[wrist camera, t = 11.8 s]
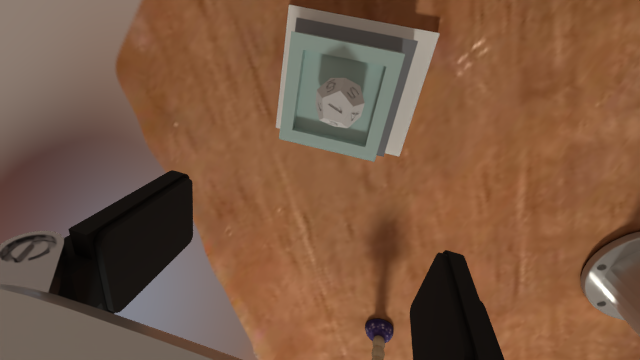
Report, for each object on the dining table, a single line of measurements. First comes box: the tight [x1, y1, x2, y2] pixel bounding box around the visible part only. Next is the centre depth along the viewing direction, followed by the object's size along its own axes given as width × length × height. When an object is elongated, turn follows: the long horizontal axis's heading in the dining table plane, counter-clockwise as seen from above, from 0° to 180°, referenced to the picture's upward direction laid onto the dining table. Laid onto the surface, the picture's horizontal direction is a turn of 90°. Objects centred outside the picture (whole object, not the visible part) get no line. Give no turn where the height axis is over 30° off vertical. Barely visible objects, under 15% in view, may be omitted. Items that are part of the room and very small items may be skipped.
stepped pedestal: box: [276, 5, 440, 162], centre depth 26 cm, size 14×12×9 cm
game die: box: [315, 78, 365, 128], centre depth 21 cm, size 4×4×3 cm
